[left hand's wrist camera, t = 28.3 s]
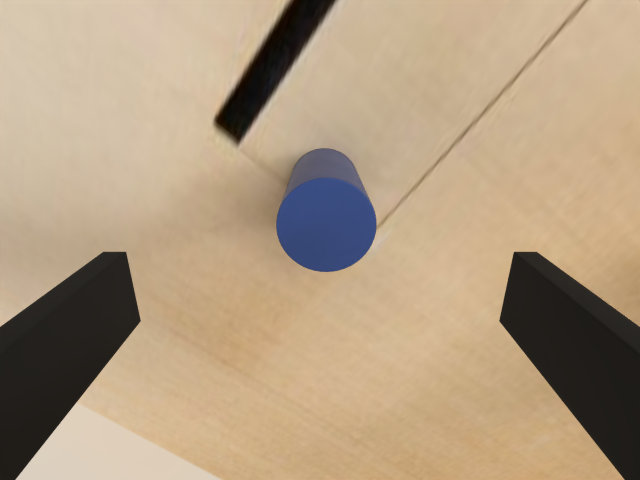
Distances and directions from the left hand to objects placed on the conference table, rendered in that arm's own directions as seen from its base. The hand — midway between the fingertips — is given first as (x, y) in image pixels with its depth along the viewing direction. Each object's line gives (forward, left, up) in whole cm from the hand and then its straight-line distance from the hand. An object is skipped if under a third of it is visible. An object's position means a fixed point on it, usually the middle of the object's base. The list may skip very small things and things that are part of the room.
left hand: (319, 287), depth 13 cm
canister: (0, 0, -18) cm, 18 cm away
